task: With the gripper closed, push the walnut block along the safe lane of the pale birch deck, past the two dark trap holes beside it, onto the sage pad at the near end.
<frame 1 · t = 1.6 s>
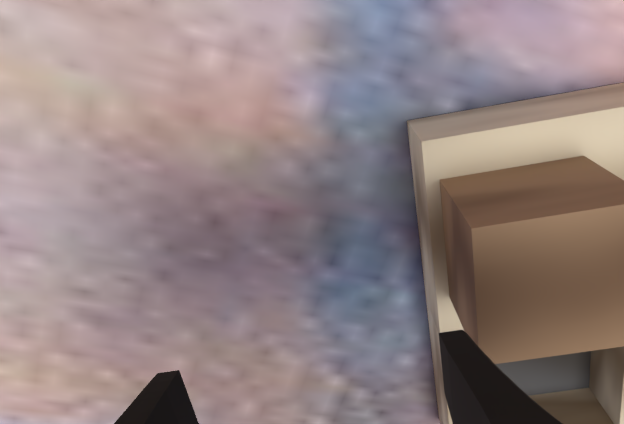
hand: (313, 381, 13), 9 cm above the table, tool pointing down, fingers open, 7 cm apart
walnut block: (512, 230, 19), point 3 cm above the table, touching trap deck
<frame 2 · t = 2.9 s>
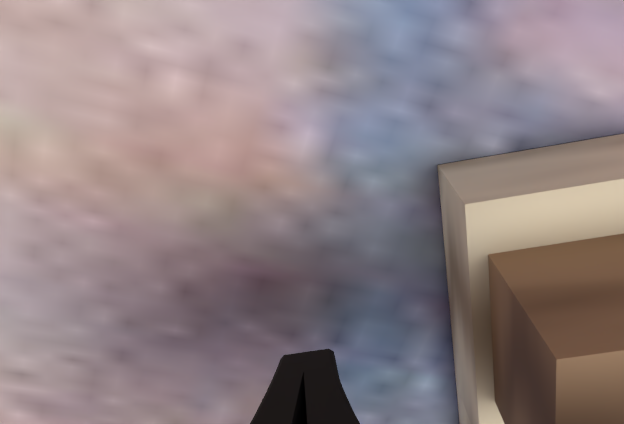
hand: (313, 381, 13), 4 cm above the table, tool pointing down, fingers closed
walnut block: (584, 319, 14), point 3 cm above the table, touching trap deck
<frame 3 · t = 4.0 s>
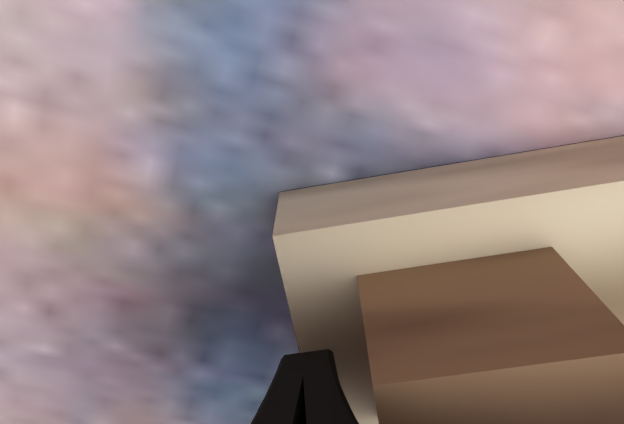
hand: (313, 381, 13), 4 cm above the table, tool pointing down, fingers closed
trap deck: (572, 357, 18), on the table
walnut block: (458, 339, 14), point 3 cm above the table
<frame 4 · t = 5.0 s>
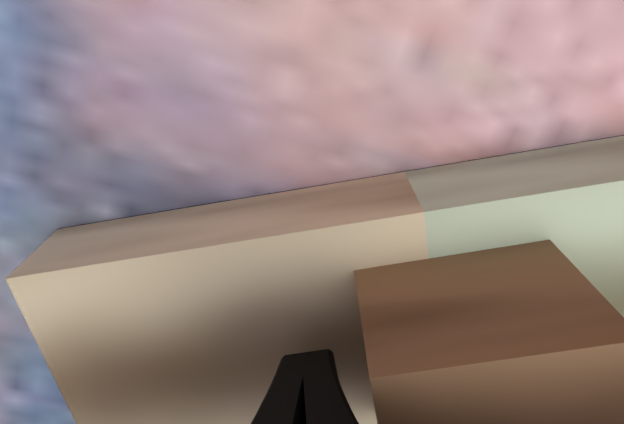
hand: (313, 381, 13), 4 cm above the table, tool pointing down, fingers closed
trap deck: (372, 384, 19), on the table
walnut block: (457, 333, 14), point 3 cm above the table, touching gripper, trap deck
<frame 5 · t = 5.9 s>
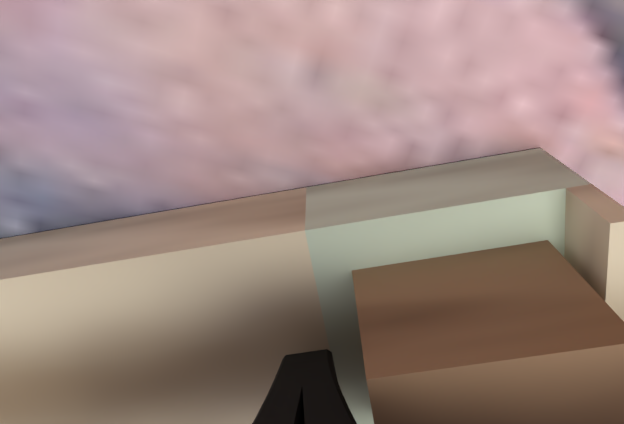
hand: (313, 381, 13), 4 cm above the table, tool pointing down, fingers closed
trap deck: (292, 394, 19), on the table
walnut block: (454, 333, 14), point 3 cm above the table, touching gripper, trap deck
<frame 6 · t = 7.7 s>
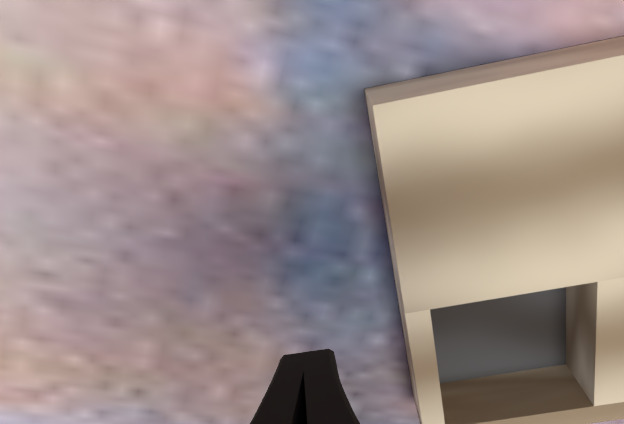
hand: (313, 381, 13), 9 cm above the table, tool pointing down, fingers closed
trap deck: (598, 229, 22), on the table
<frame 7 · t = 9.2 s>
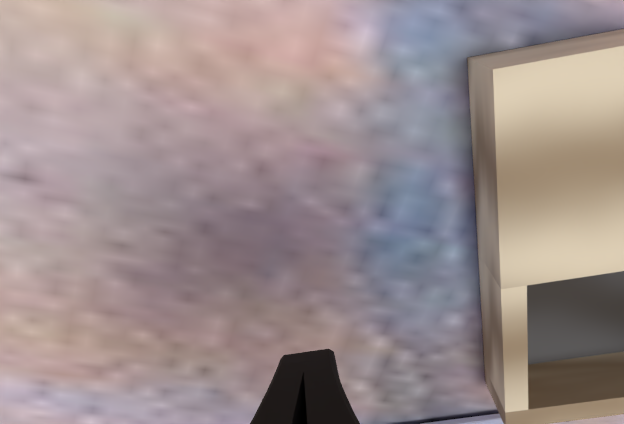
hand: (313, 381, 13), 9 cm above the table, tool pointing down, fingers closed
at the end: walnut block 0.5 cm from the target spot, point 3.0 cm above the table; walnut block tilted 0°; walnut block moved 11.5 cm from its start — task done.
